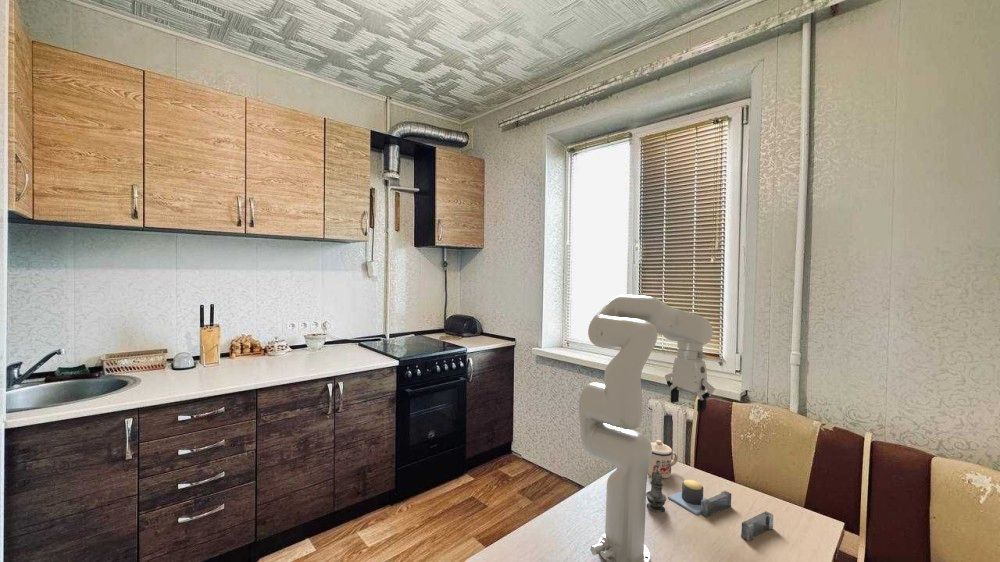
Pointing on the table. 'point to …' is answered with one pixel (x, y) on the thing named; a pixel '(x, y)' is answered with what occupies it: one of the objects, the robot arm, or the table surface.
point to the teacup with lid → (661, 459)
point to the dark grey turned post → (656, 494)
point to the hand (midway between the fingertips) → (687, 406)
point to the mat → (685, 503)
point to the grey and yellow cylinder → (692, 492)
